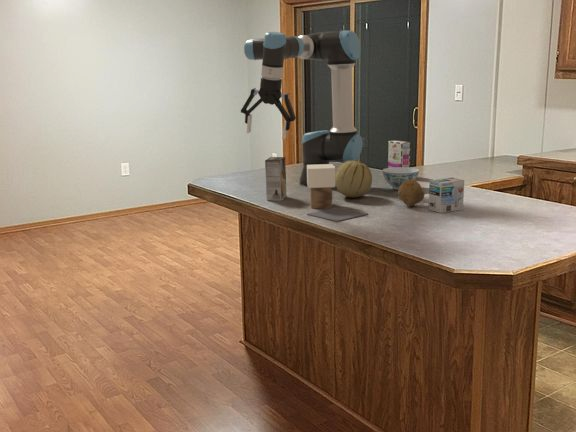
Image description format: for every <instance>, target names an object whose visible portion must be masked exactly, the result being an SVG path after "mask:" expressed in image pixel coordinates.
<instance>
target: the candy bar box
mask: <svg viewBox="0 0 576 432" xmlns="http://www.w3.org/2000/svg"><path fill="white" fill-rule="evenodd" d="M387 155H388V156H387V157H388V158H387V168H394V167H407V168H411V165H410V164H411V161H410V160H411V142H409V141H402V140H388V153H387Z"/></svg>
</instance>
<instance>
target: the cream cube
mask: <svg viewBox="0 0 576 432" xmlns="http://www.w3.org/2000/svg"><path fill="white" fill-rule="evenodd" d="M335 173H336V167H335V165H334V163H329V164H317V165H307V185H308V186H307V185H306V186H307V188H308V189H310V188H324V187H332V188H336V186H335Z"/></svg>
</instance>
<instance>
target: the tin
mask: <svg viewBox="0 0 576 432" xmlns="http://www.w3.org/2000/svg"><path fill="white" fill-rule="evenodd" d="M309 190H310V191H309V192H310V195H309V196H310V201H309V202H310V208H311V209H323V208H324V209H331V208H333V187H324V188H309Z"/></svg>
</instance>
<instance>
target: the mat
mask: <svg viewBox="0 0 576 432" xmlns="http://www.w3.org/2000/svg"><path fill="white" fill-rule="evenodd" d="M367 215H369V213H367V212H363V211H358V210H354V209H349V208H345V207H344V208H343V207H340V206H336V207H332V208H325V209H323V210H317V211H313V212H308V213H306V216H310V217H314V218H319V219H323V220H327V221H331V222H334V223H335V222H336V223H338V222H343V221H346V220H351V219H355V218H360V217H364V216H367Z"/></svg>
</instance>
